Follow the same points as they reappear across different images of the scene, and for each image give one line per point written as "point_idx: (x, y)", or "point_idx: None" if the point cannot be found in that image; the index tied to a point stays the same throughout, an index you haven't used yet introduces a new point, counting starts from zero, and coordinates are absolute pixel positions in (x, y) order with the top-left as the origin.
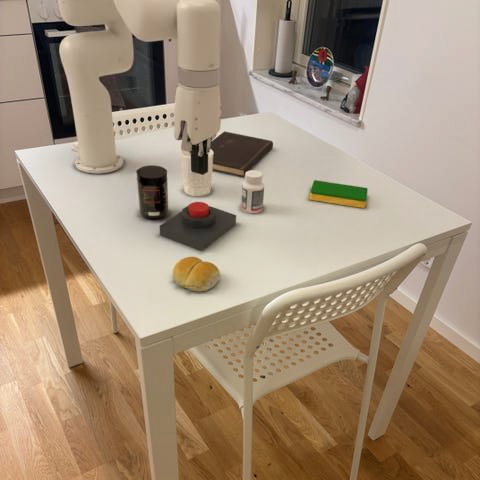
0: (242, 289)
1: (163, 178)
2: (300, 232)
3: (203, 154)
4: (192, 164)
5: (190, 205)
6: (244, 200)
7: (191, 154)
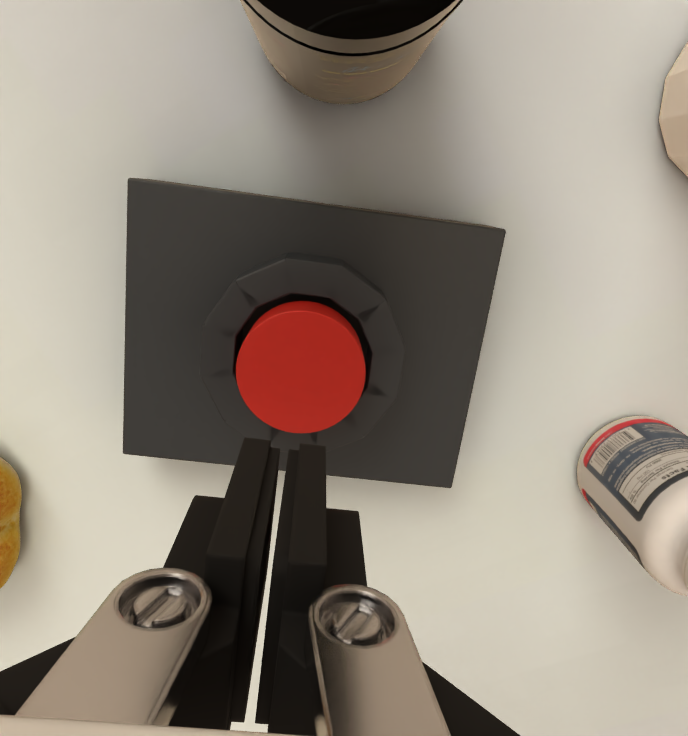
0: (8, 660)
1: (325, 42)
2: (498, 694)
3: (269, 697)
4: (185, 521)
5: (284, 324)
6: (611, 473)
7: (212, 548)
